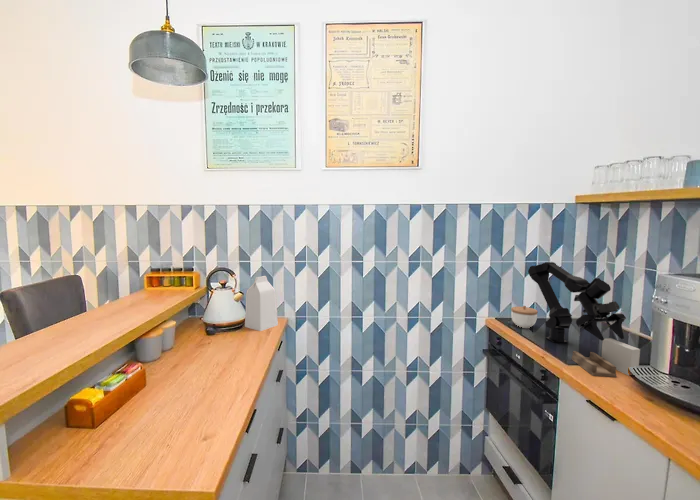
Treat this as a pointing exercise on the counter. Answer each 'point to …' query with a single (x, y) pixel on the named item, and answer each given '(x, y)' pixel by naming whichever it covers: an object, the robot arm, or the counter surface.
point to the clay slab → (620, 354)
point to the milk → (261, 305)
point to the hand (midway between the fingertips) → (613, 339)
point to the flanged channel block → (595, 364)
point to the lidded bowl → (524, 316)
